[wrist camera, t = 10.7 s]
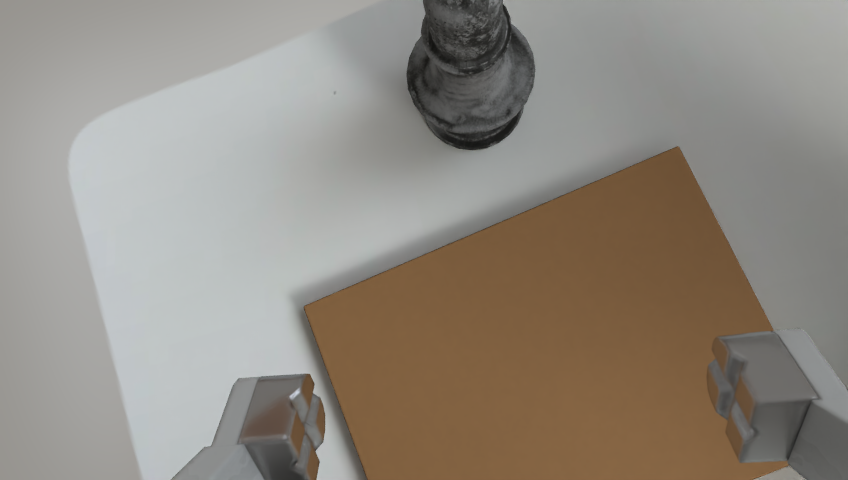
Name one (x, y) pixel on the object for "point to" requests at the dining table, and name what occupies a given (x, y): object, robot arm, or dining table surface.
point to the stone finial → (470, 72)
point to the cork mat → (550, 342)
